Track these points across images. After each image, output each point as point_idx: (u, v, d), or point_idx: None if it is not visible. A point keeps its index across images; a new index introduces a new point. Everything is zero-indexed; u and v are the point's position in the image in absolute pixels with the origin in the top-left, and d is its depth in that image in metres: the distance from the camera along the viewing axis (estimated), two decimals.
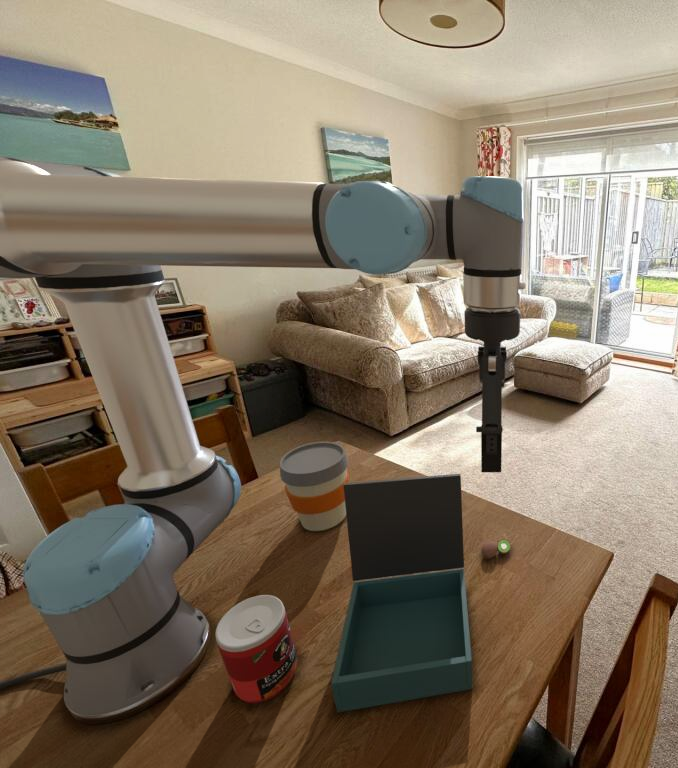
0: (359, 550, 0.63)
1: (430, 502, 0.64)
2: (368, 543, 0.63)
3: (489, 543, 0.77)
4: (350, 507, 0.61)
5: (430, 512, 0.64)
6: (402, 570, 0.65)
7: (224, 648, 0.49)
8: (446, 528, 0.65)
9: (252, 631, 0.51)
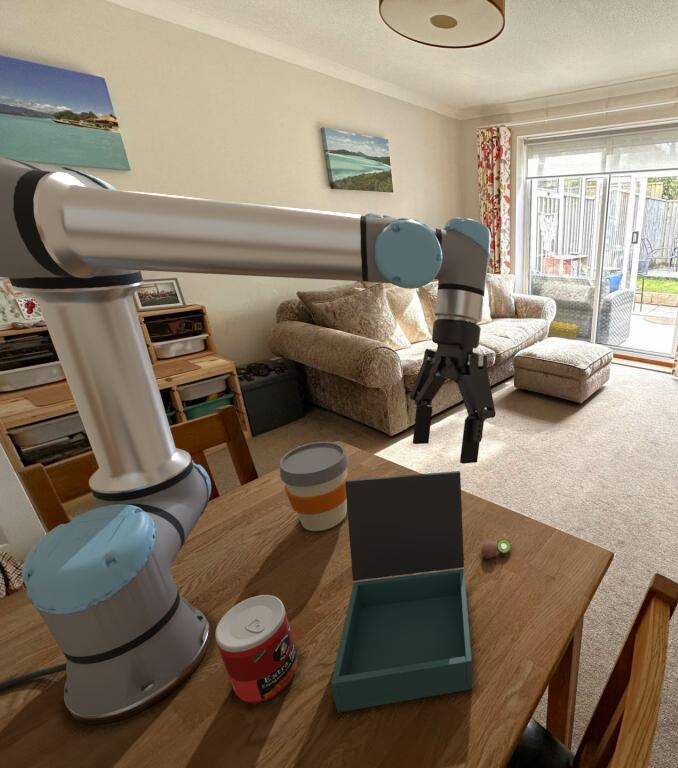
0: (359, 548, 0.63)
1: (430, 499, 0.65)
2: (369, 541, 0.64)
3: (489, 543, 0.77)
4: (351, 504, 0.62)
5: (430, 509, 0.65)
6: (402, 570, 0.65)
7: (224, 648, 0.49)
8: (446, 526, 0.66)
9: (252, 631, 0.51)
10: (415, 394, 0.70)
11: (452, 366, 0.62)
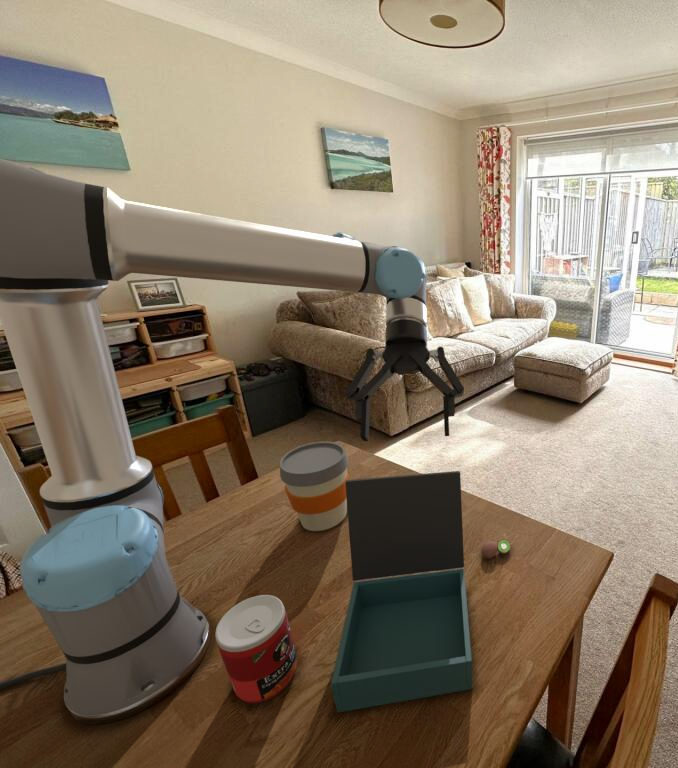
0: (359, 548, 0.63)
1: (430, 499, 0.65)
2: (369, 541, 0.64)
3: (489, 543, 0.77)
4: (351, 504, 0.62)
5: (430, 509, 0.65)
6: (402, 570, 0.65)
7: (224, 648, 0.49)
8: (446, 526, 0.66)
9: (252, 631, 0.51)
10: (354, 391, 0.69)
11: (418, 357, 0.72)
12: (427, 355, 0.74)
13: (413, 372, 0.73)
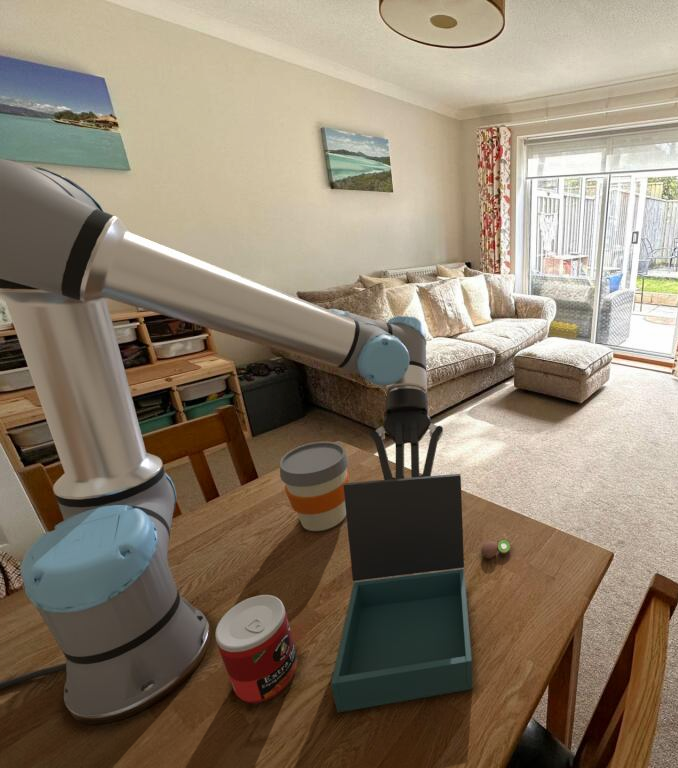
0: (359, 550, 0.63)
1: (430, 502, 0.64)
2: (368, 543, 0.63)
3: (489, 543, 0.77)
4: (350, 507, 0.61)
5: (430, 512, 0.64)
6: (402, 570, 0.65)
7: (224, 648, 0.49)
8: (446, 528, 0.65)
9: (252, 631, 0.51)
10: (390, 473, 0.68)
11: (415, 430, 0.71)
12: None
13: None
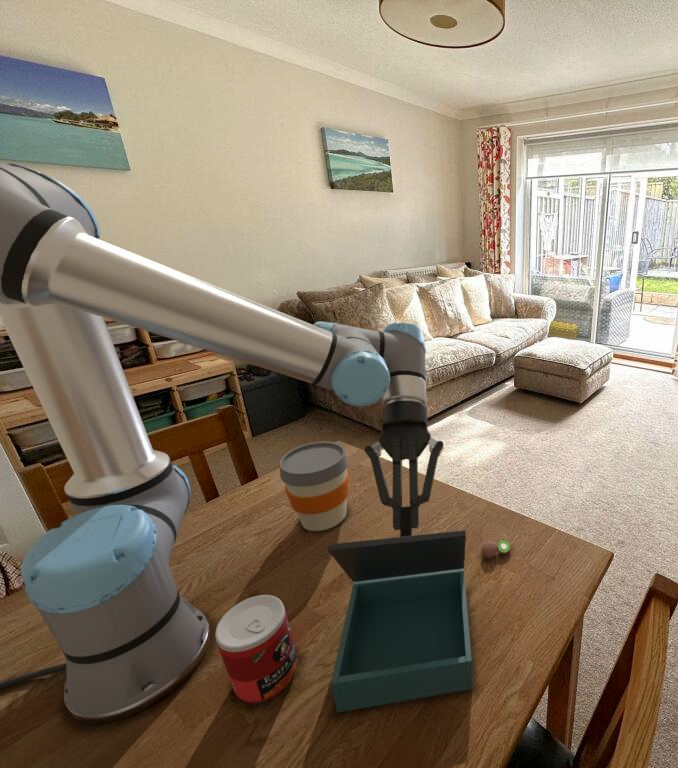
0: (356, 572, 0.60)
1: (430, 549, 0.57)
2: (365, 569, 0.60)
3: (489, 543, 0.77)
4: (340, 558, 0.54)
5: (430, 553, 0.58)
6: (402, 574, 0.65)
7: (224, 648, 0.49)
8: (447, 557, 0.61)
9: (252, 631, 0.51)
10: (387, 493, 0.63)
11: (413, 446, 0.66)
12: (424, 441, 0.67)
13: None
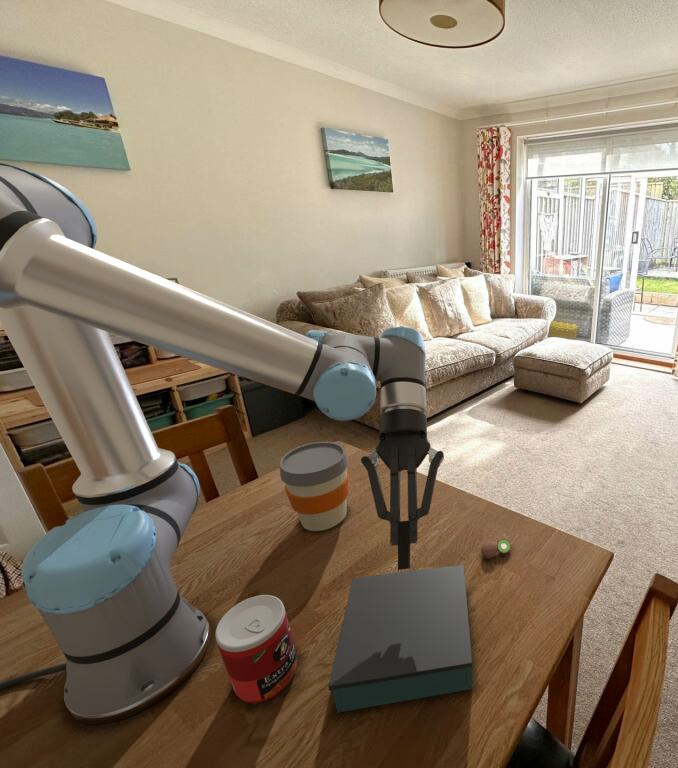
0: None
1: None
2: None
3: (489, 543, 0.77)
4: None
5: None
6: None
7: (224, 648, 0.49)
8: None
9: (252, 631, 0.51)
10: (384, 507, 0.60)
11: (412, 457, 0.63)
12: (424, 451, 0.64)
13: None
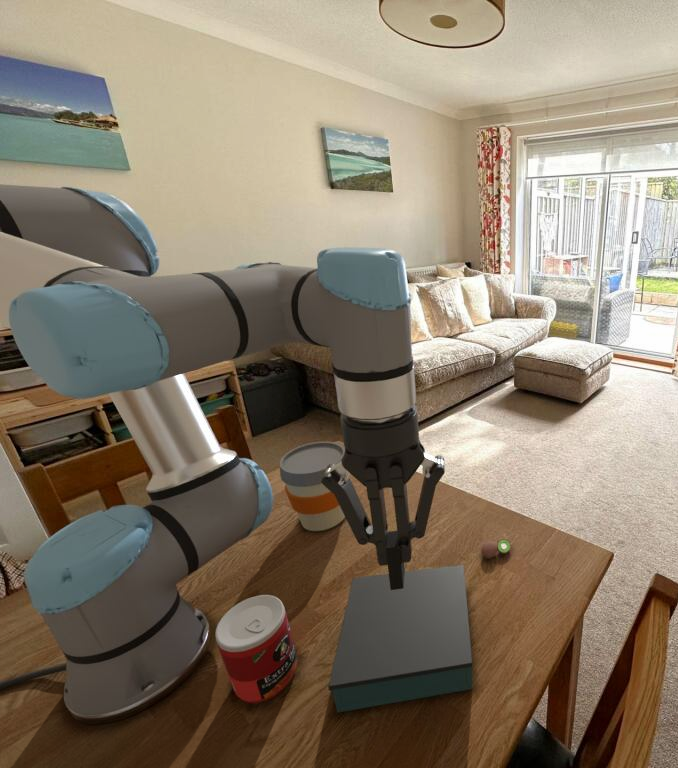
0: None
1: None
2: None
3: (489, 543, 0.77)
4: None
5: None
6: None
7: (224, 648, 0.49)
8: None
9: (252, 631, 0.51)
10: (366, 532, 0.45)
11: (399, 479, 0.43)
12: None
13: None
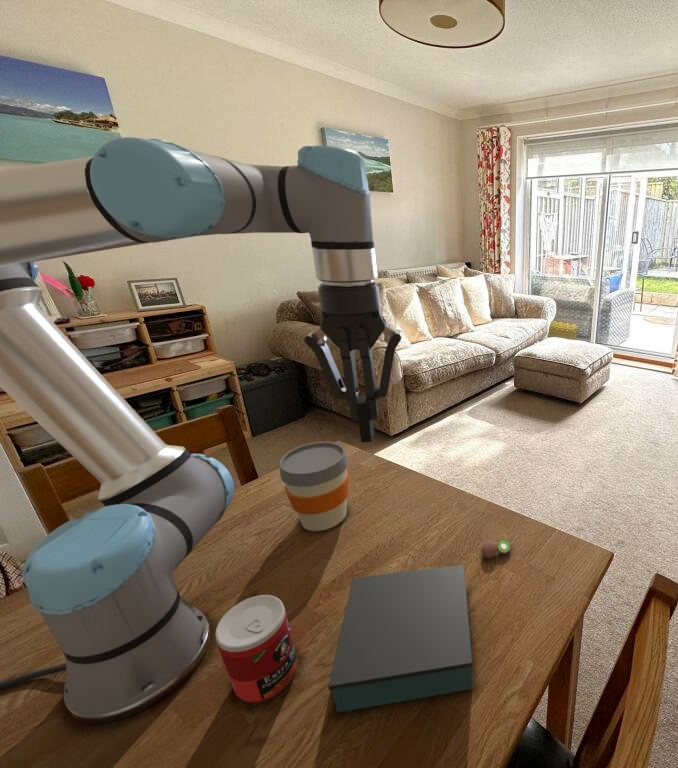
0: None
1: None
2: None
3: (489, 543, 0.77)
4: None
5: None
6: None
7: (224, 648, 0.49)
8: None
9: (252, 631, 0.51)
10: (340, 388, 0.58)
11: (364, 341, 0.55)
12: None
13: None
